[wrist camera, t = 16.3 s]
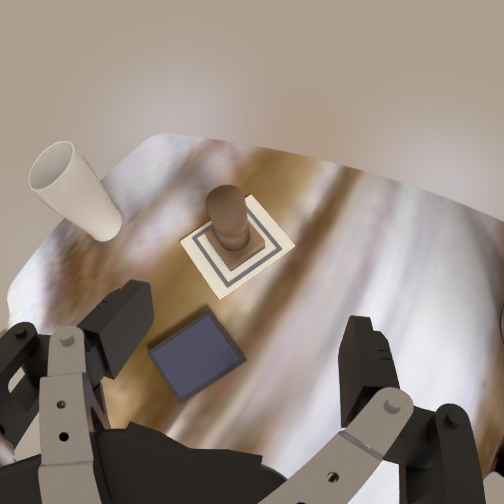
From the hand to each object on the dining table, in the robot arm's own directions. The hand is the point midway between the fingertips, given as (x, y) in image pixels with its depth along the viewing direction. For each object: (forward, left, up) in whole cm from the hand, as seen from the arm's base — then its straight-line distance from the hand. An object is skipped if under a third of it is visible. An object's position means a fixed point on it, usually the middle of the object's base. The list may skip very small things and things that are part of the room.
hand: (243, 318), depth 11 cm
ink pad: (+6, -3, -22) cm, 23 cm away
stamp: (-5, -12, -22) cm, 25 cm away
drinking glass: (+8, -25, -22) cm, 34 cm away
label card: (-5, -12, -22) cm, 25 cm away
